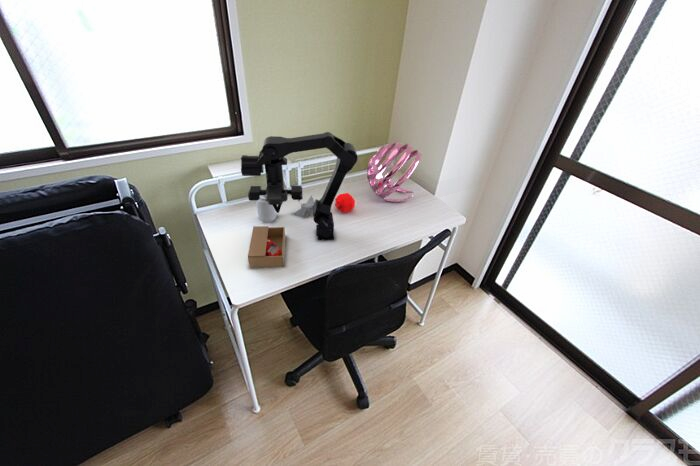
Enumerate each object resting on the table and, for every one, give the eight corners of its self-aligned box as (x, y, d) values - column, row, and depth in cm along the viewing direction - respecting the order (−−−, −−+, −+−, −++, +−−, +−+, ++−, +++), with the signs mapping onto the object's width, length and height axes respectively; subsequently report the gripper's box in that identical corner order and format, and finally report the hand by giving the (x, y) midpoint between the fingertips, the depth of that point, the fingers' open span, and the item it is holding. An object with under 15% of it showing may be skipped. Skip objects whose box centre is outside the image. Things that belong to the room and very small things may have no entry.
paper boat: (299, 220, 129) (285, 207, 132) (303, 225, 135) (290, 212, 138) (319, 200, 131) (305, 187, 133) (322, 206, 137) (308, 193, 140)
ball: (333, 206, 141) (333, 192, 136) (349, 203, 144) (350, 189, 139) (339, 216, 136) (340, 201, 131) (356, 213, 138) (357, 198, 134)
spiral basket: (445, 158, 144) (403, 119, 138) (429, 197, 128) (381, 154, 123) (407, 185, 167) (370, 152, 161) (389, 221, 151) (347, 186, 145)
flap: (265, 256, 105) (265, 255, 105) (247, 256, 104) (247, 256, 104) (268, 226, 118) (268, 226, 118) (253, 227, 117) (253, 226, 117)
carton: (283, 266, 109) (282, 256, 106) (249, 268, 107) (247, 257, 104) (285, 236, 122) (284, 226, 119) (255, 237, 120) (253, 227, 117)
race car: (284, 257, 112) (283, 249, 110) (271, 263, 109) (269, 255, 107) (267, 238, 120) (266, 230, 117) (254, 243, 117) (253, 235, 114)
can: (272, 224, 128) (269, 200, 120) (255, 221, 129) (251, 197, 121) (279, 214, 133) (277, 191, 126) (263, 211, 134) (260, 188, 127)
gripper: (242, 187, 97) (249, 225, 107) (302, 186, 100) (303, 224, 110) (247, 170, 106) (253, 208, 115) (301, 170, 108) (303, 207, 118)
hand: (278, 212), depth 114 cm, fingers closed
